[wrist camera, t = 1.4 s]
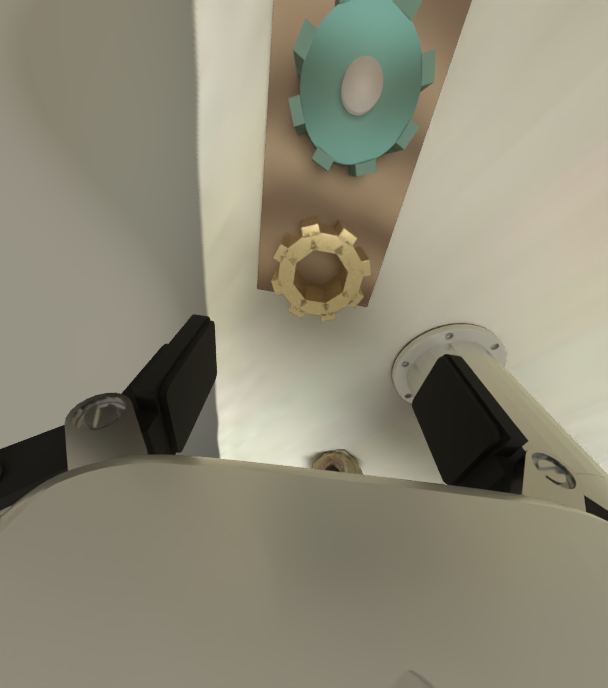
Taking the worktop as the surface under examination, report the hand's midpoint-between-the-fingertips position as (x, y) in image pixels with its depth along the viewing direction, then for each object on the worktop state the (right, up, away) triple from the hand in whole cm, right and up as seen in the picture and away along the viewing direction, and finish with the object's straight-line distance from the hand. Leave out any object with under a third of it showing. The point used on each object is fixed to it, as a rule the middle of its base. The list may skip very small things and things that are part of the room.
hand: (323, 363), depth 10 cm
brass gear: (+1, +8, +12) cm, 15 cm away
